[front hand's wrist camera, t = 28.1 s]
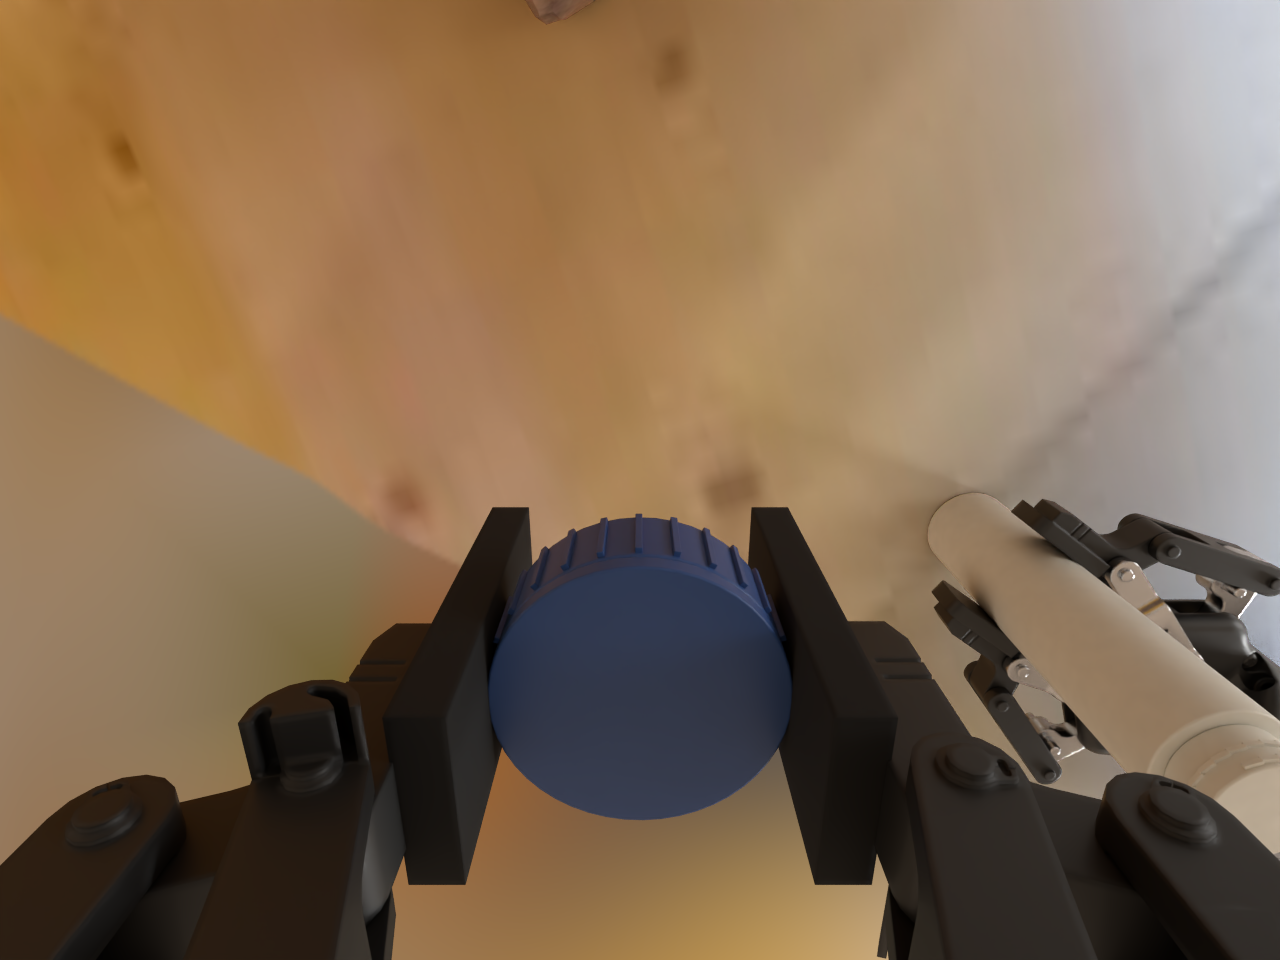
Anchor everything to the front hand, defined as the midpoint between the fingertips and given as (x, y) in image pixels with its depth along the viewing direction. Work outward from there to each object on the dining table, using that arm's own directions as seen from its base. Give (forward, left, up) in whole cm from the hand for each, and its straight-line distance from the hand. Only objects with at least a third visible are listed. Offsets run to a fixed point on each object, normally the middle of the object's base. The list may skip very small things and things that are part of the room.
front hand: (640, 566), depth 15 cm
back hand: (+15, +6, -13) cm, 20 cm away
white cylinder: (+17, +6, -19) cm, 27 cm away
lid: (0, 0, +4) cm, 4 cm away
